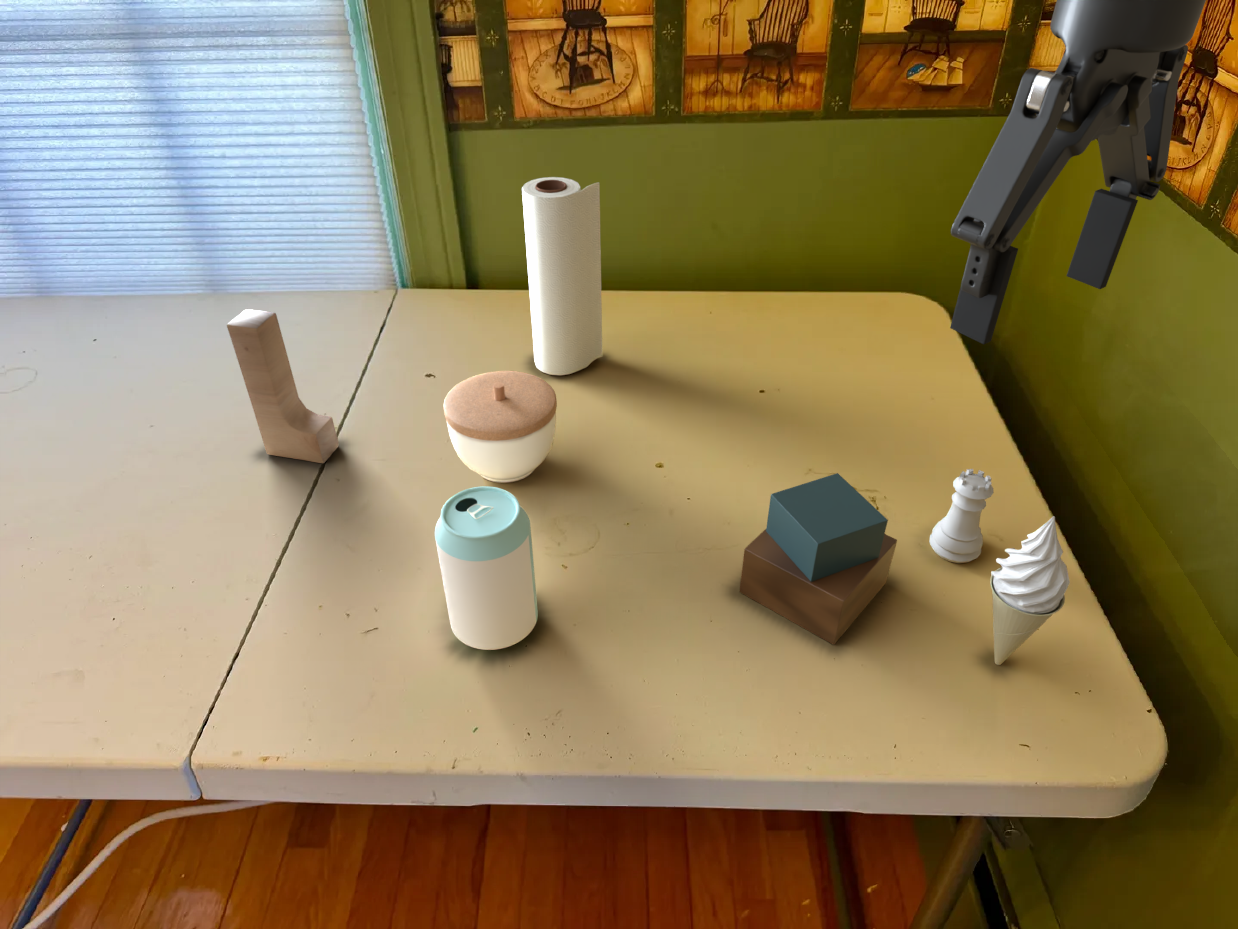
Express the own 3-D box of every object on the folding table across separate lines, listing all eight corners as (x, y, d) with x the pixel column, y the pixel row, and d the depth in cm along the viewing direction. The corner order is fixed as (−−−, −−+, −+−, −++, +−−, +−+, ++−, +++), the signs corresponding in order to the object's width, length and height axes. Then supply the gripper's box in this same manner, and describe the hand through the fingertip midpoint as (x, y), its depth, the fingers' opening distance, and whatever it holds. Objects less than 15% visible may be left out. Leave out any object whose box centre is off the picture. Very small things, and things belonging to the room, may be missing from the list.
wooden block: (266, 454, 89) (225, 324, 80) (283, 436, 91) (245, 307, 82) (323, 464, 88) (289, 332, 78) (340, 445, 90) (308, 315, 81)
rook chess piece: (973, 533, 79) (997, 463, 74) (985, 567, 76) (1010, 496, 71) (923, 529, 80) (943, 460, 75) (932, 564, 76) (954, 493, 71)
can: (443, 654, 68) (421, 541, 61) (460, 589, 74) (442, 478, 67) (532, 657, 68) (521, 544, 61) (543, 591, 74) (534, 481, 66)
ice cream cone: (960, 633, 70) (1010, 488, 61) (1027, 643, 69) (1088, 497, 60) (966, 683, 66) (1022, 536, 57) (1037, 694, 65) (1105, 546, 56)
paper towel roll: (526, 371, 102) (511, 191, 89) (547, 346, 106) (536, 171, 93) (583, 383, 100) (576, 200, 87) (602, 357, 104) (599, 179, 91)
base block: (886, 583, 74) (897, 539, 71) (833, 645, 69) (843, 601, 66) (794, 537, 79) (801, 494, 76) (739, 592, 74) (743, 548, 70)
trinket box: (439, 493, 84) (426, 413, 78) (468, 429, 92) (457, 352, 87) (549, 502, 83) (544, 421, 77) (567, 436, 91) (564, 359, 86)
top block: (878, 557, 70) (888, 520, 67) (810, 582, 67) (817, 544, 65) (830, 509, 74) (837, 472, 72) (765, 531, 72) (770, 493, 70)
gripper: (1189, -64, 57) (1082, 245, 70) (941, -24, 45) (869, 336, 58) (1315, -50, 52) (1176, 279, 65) (1073, -1, 40) (963, 386, 53)
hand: (1030, 307), depth 62 cm, fingers open, 13 cm apart
